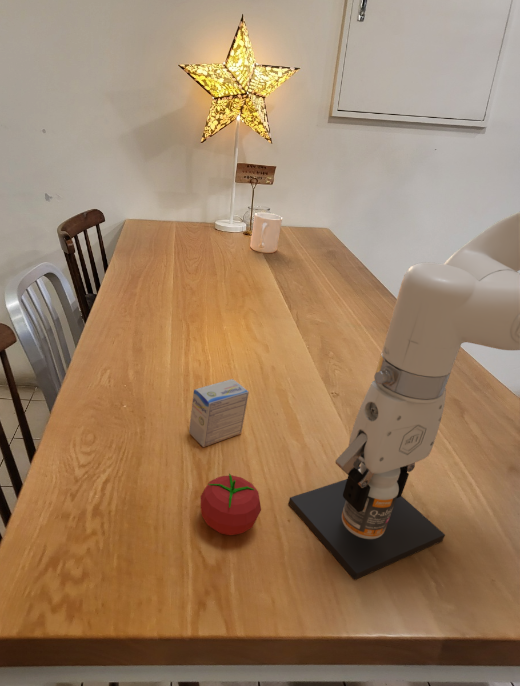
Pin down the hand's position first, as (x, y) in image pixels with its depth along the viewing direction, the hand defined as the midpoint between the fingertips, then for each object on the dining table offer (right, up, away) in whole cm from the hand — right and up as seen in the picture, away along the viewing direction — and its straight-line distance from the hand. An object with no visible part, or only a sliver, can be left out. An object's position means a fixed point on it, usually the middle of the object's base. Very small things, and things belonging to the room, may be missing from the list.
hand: (371, 496), depth 68 cm
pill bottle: (-1, -5, +2) cm, 5 cm away
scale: (+1, -5, +6) cm, 8 cm away
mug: (-4, +53, +118) cm, 130 cm away
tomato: (-18, -5, +3) cm, 19 cm away
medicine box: (-20, +5, +20) cm, 29 cm away
